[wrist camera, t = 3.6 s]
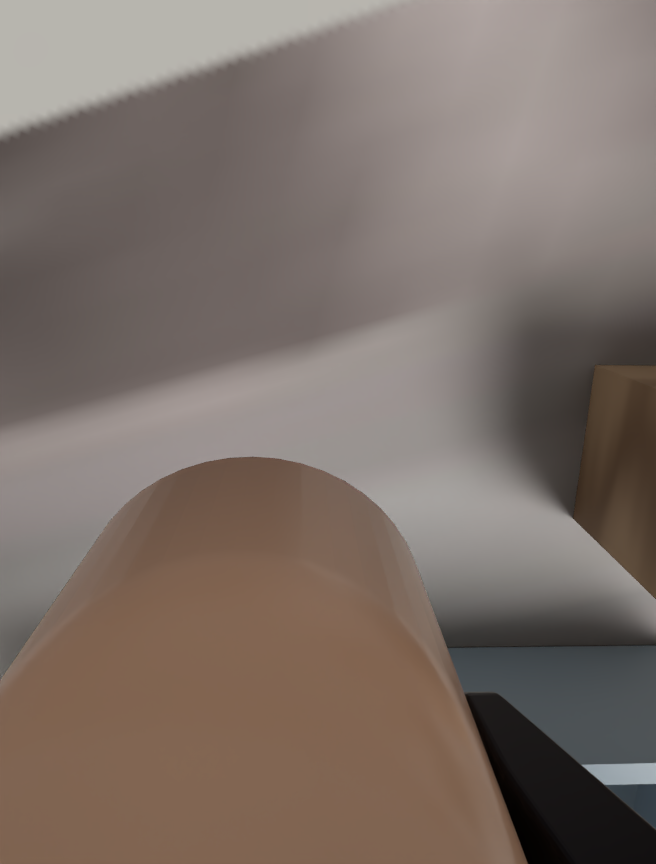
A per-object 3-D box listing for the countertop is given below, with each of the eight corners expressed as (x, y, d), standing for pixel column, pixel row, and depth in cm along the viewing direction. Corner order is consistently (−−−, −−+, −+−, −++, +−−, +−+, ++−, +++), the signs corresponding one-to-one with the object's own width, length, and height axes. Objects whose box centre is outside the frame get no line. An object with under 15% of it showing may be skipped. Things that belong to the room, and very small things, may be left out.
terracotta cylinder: (410, 753, 10) (652, 1834, 3) (93, 757, 10) (-384, 1951, 3) (435, 458, 8) (982, 1296, 2) (63, 454, 8) (-1042, 1430, 1)
